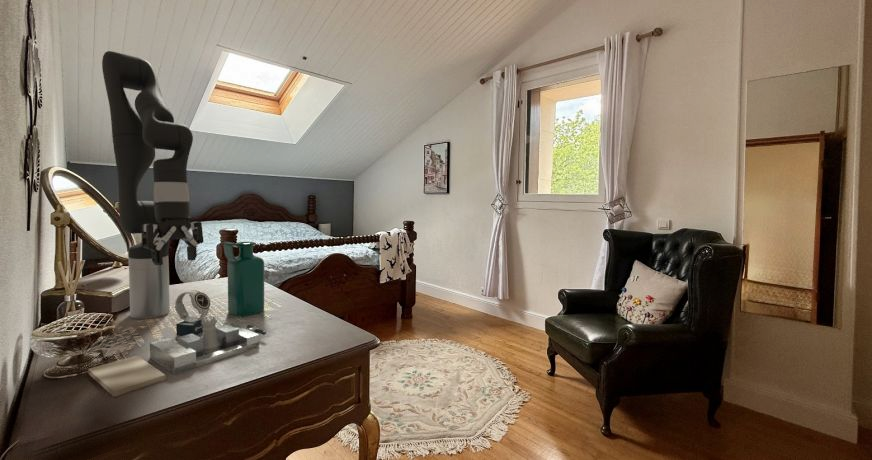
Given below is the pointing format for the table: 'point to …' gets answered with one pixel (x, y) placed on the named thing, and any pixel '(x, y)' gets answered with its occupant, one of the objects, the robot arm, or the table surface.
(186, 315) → the watch
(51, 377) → the table surface
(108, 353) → the table surface
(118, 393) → the board
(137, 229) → the robot arm
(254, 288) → the pitcher
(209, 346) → the rook chess piece
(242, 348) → the vise
